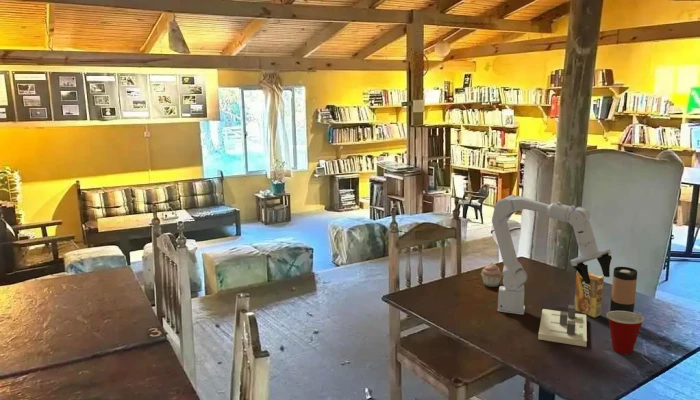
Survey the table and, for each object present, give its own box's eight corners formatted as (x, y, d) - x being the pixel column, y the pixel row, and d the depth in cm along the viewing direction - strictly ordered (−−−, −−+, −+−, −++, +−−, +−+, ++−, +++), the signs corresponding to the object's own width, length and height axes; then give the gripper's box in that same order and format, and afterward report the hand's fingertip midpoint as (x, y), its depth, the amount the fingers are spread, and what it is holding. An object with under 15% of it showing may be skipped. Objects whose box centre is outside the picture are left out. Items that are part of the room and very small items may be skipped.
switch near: (566, 333, 178) (567, 323, 177) (566, 330, 181) (567, 320, 180) (574, 334, 177) (575, 324, 177) (574, 331, 180) (575, 321, 179)
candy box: (601, 315, 197) (604, 276, 194) (594, 318, 195) (598, 278, 192) (579, 307, 205) (582, 269, 201) (573, 310, 202) (576, 272, 199)
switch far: (567, 317, 191) (568, 307, 190) (567, 313, 193) (568, 304, 193) (574, 318, 190) (575, 308, 189) (574, 314, 193) (575, 305, 192)
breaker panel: (538, 339, 180) (538, 333, 179) (542, 313, 200) (542, 308, 199) (586, 346, 174) (586, 341, 174) (585, 319, 194) (586, 314, 193)
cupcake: (479, 280, 235) (480, 258, 233) (501, 281, 233) (502, 259, 231) (480, 287, 226) (481, 265, 224) (503, 289, 224) (504, 266, 222)
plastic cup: (622, 339, 178) (626, 306, 176) (648, 355, 168) (652, 319, 166) (595, 344, 175) (598, 310, 173) (620, 360, 165) (623, 324, 163)
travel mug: (613, 316, 196) (618, 265, 192) (635, 322, 191) (640, 269, 187) (605, 322, 191) (610, 270, 187) (628, 329, 186) (633, 275, 182)
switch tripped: (559, 324, 185) (560, 314, 185) (559, 320, 188) (560, 311, 187) (566, 325, 185) (567, 315, 184) (567, 321, 187) (567, 312, 186)
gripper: (574, 248, 177) (586, 287, 177) (612, 236, 180) (623, 274, 180) (563, 248, 184) (574, 285, 184) (598, 236, 187) (609, 273, 187)
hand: (597, 280), depth 182 cm, fingers open, 7 cm apart
